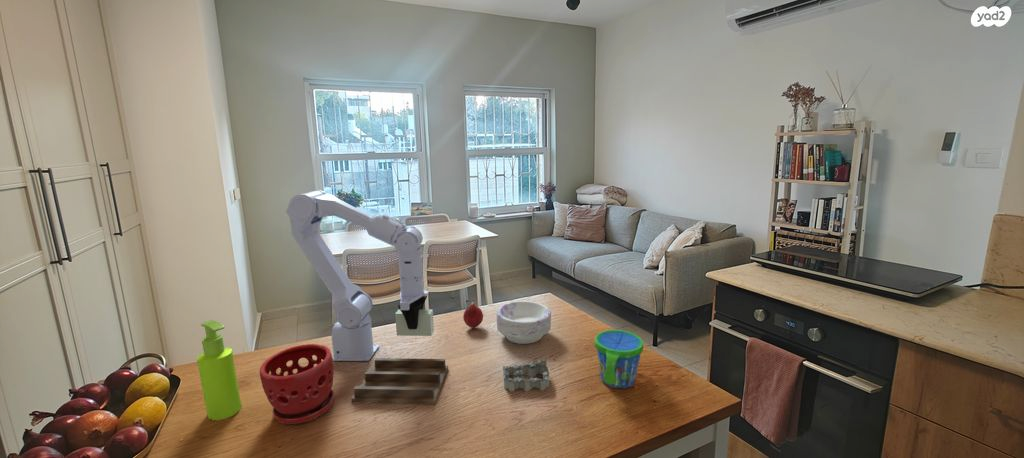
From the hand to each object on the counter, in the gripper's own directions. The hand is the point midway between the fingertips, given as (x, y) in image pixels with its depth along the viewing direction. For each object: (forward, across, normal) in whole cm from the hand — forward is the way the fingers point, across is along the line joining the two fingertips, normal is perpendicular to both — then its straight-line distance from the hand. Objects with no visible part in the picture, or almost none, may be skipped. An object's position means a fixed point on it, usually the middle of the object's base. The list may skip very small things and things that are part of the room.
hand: (414, 325), depth 110 cm
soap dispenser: (+8, -26, +33) cm, 43 cm away
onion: (+8, +15, -13) cm, 21 cm away
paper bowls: (+8, +10, -28) cm, 31 cm away
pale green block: (+2, 0, 0) cm, 2 cm away
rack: (+8, -15, -1) cm, 17 cm away
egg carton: (+8, -13, -29) cm, 33 cm away
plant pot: (+8, -25, +17) cm, 31 cm away
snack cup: (+8, -12, -50) cm, 52 cm away
